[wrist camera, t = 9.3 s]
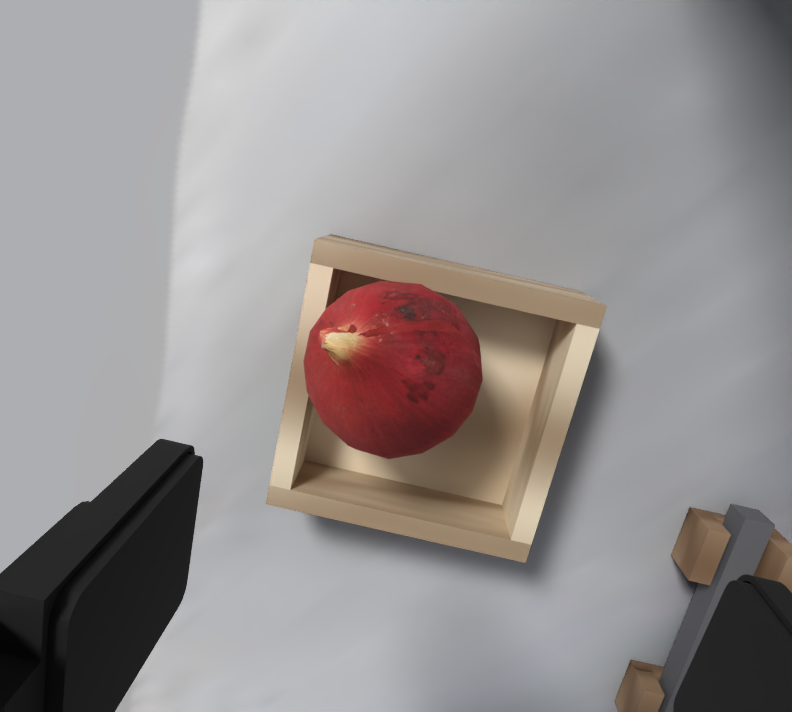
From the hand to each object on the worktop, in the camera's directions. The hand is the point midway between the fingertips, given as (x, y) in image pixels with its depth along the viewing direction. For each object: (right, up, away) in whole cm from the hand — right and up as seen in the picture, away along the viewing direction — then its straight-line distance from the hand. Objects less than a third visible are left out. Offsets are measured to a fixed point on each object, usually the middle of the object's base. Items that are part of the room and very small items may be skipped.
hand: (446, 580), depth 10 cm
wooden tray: (0, +3, +14) cm, 15 cm away
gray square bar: (+12, -8, +16) cm, 22 cm away
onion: (0, +3, +13) cm, 13 cm away
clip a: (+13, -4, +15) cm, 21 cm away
